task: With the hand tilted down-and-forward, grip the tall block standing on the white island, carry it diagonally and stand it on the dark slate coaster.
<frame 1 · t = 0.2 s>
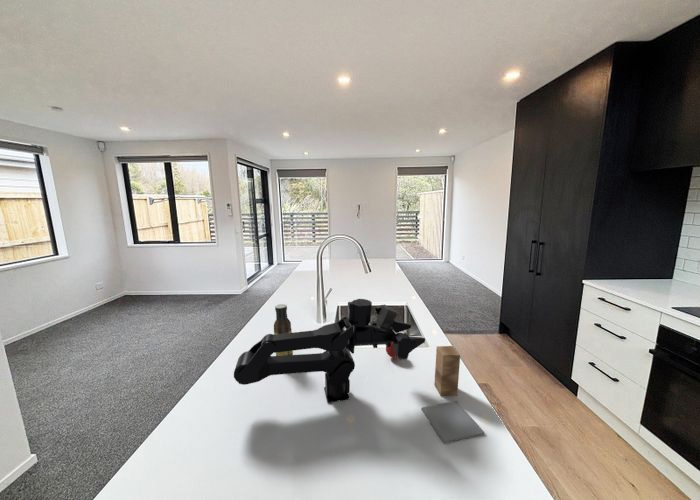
hand: (417, 332, 83), 17 cm above the counter, tool horizontal, fingers open, 9 cm apart
onion: (393, 358, 99), on the counter
block: (445, 390, 82), on the counter
coaster: (451, 421, 70), on the counter
sauce bottle: (284, 357, 99), on the counter
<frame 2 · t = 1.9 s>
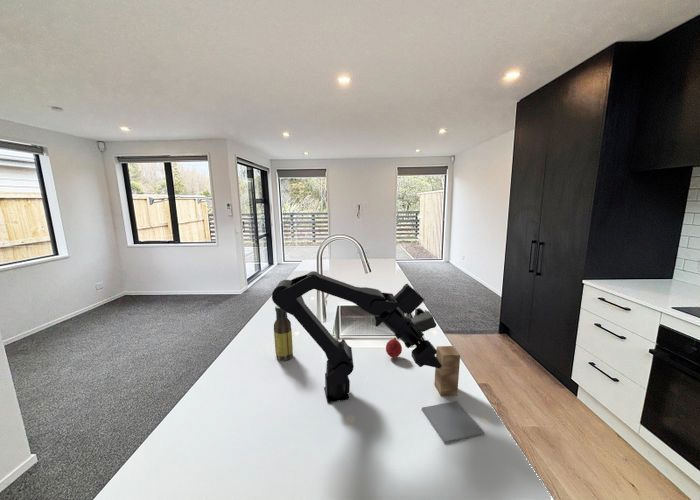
hand: (434, 357, 80), 11 cm above the counter, tool tilted 45°, fingers open, 9 cm apart
nothing on the counter moved.
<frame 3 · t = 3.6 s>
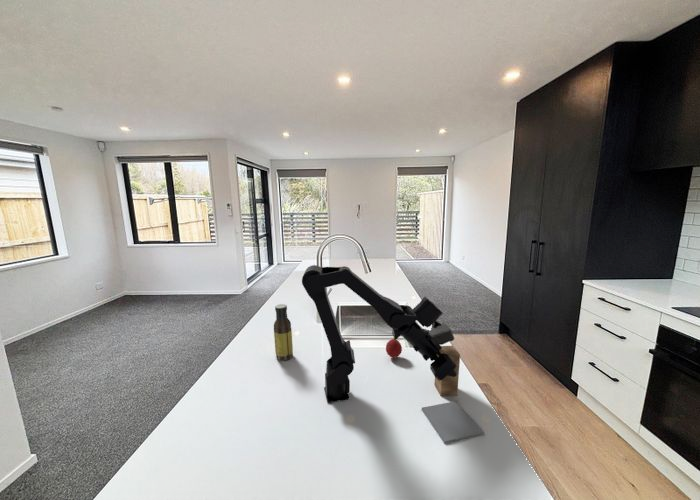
hand: (451, 369, 81), 7 cm above the counter, tool tilted 45°, fingers closed on block, 5 cm apart
block: (445, 390, 82), on the counter, touching gripper
everything else where it was.
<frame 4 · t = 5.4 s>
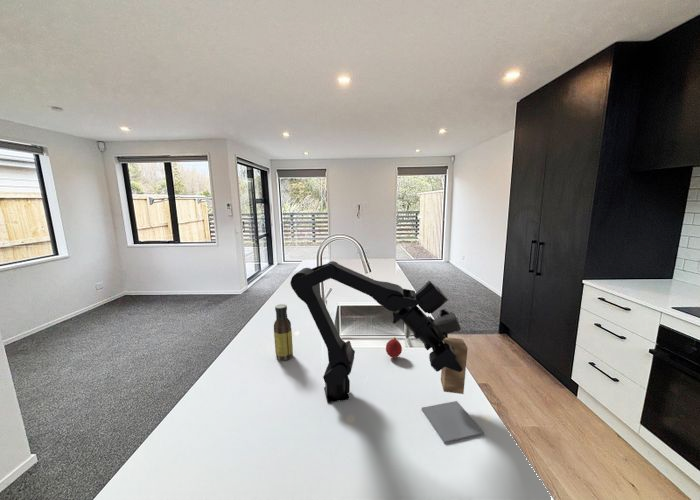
hand: (458, 364, 73), 13 cm above the counter, tool tilted 45°, fingers closed on block, 5 cm apart
block: (451, 386, 74), point 6 cm above the counter, touching gripper
everything else where it was.
when the fingers open (8 cm above the counter, at t = 7.3 s): block stays where it is, resting on coaster.
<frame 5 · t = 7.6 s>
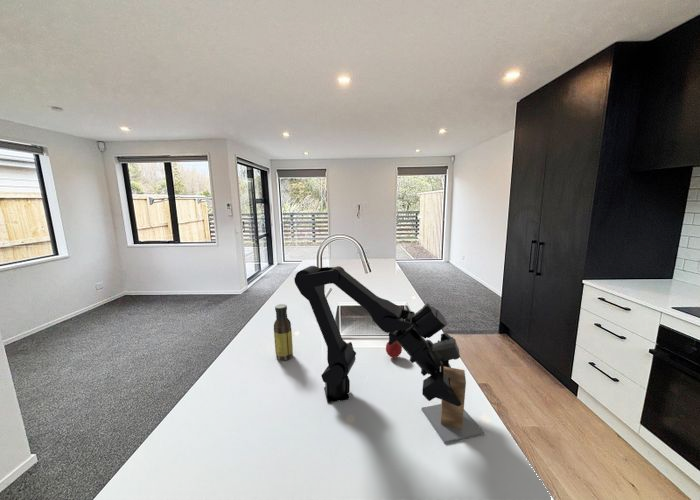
hand: (459, 394, 68), 8 cm above the counter, tool tilted 45°, fingers open, 8 cm apart
block: (451, 419, 70), point 1 cm above the counter, touching coaster
everything else where it was.
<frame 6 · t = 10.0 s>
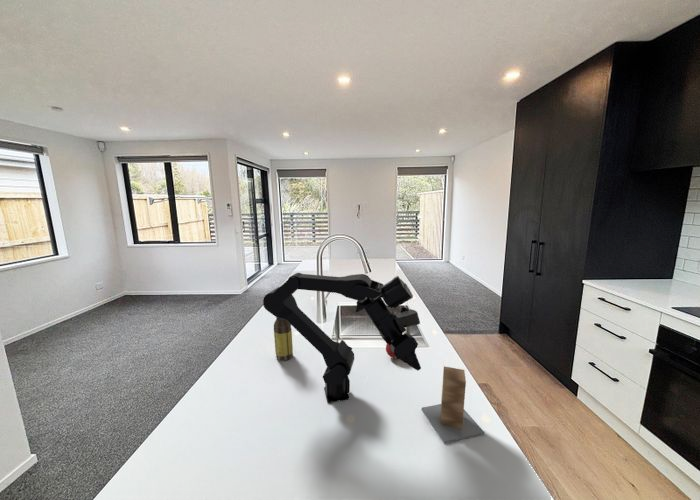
hand: (413, 362, 74), 13 cm above the counter, tool tilted 35°, fingers open, 9 cm apart
nothing on the counter moved.
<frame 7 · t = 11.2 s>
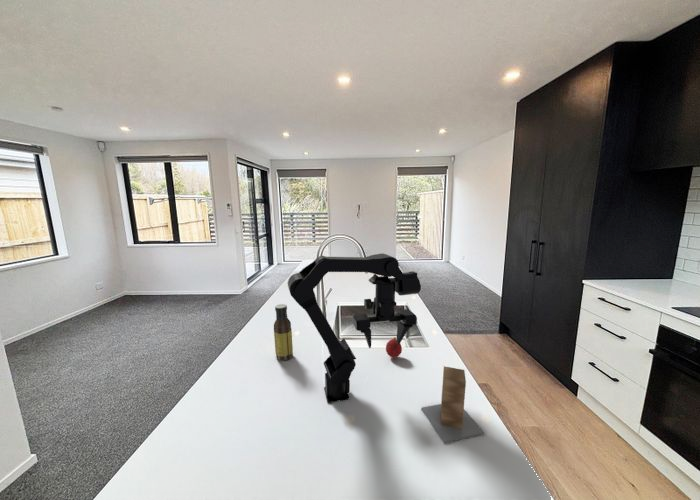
hand: (383, 345, 82), 13 cm above the counter, tool pointing down, fingers open, 9 cm apart
nothing on the counter moved.
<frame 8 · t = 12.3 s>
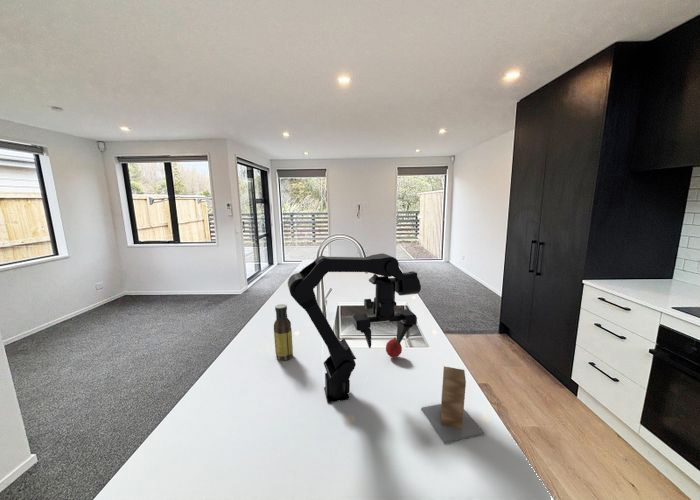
hand: (383, 345, 82), 13 cm above the counter, tool pointing down, fingers open, 9 cm apart
nothing on the counter moved.
at the end: block inside the target area on the coaster (0.1 cm from its centre), point 0.6 cm above the coaster's base; block tilted 0°; the gripper is holding nothing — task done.
